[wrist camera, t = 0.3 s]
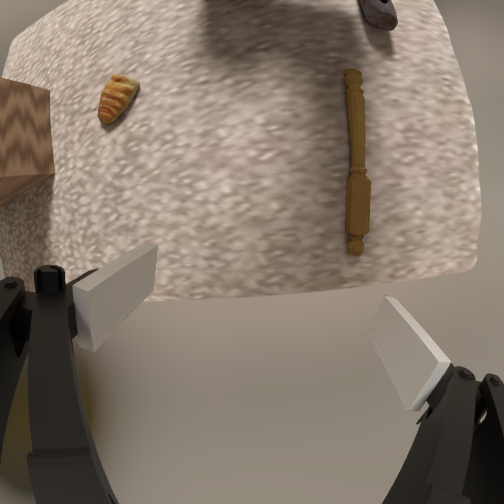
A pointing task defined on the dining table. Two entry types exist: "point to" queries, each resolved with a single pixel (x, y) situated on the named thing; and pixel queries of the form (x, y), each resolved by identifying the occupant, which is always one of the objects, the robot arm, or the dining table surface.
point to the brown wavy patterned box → (23, 138)
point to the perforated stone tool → (380, 13)
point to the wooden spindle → (356, 166)
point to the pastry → (116, 97)
